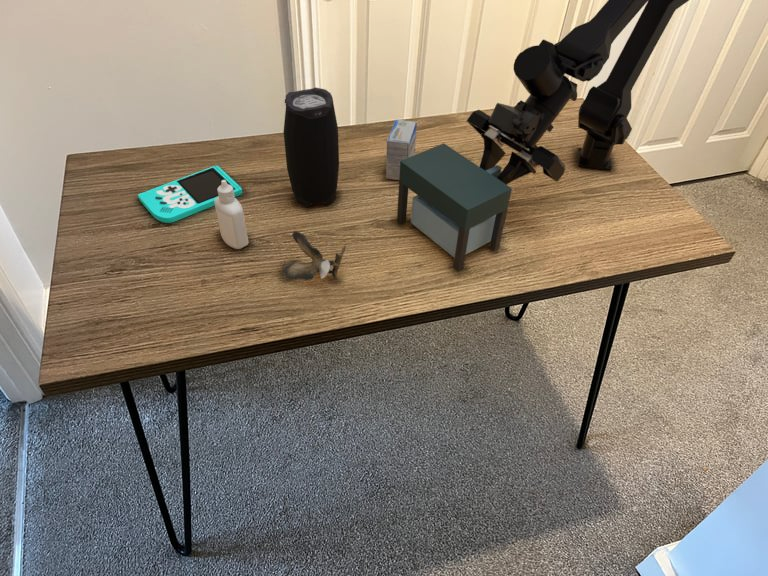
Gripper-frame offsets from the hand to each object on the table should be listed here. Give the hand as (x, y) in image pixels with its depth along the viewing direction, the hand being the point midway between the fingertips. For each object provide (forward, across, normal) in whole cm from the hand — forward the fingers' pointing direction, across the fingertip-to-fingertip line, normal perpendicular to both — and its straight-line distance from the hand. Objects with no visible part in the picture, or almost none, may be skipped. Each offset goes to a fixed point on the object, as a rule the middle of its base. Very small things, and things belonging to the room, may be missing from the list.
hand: (483, 186), depth 102 cm
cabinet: (+10, 0, 0) cm, 10 cm away
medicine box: (+6, -20, +4) cm, 22 cm away
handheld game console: (+32, -36, -22) cm, 53 cm away
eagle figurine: (+27, -6, -17) cm, 33 cm away
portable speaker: (+19, -23, -9) cm, 31 cm away
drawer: (+7, 0, +2) cm, 8 cm away
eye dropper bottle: (+32, -20, -22) cm, 43 cm away
